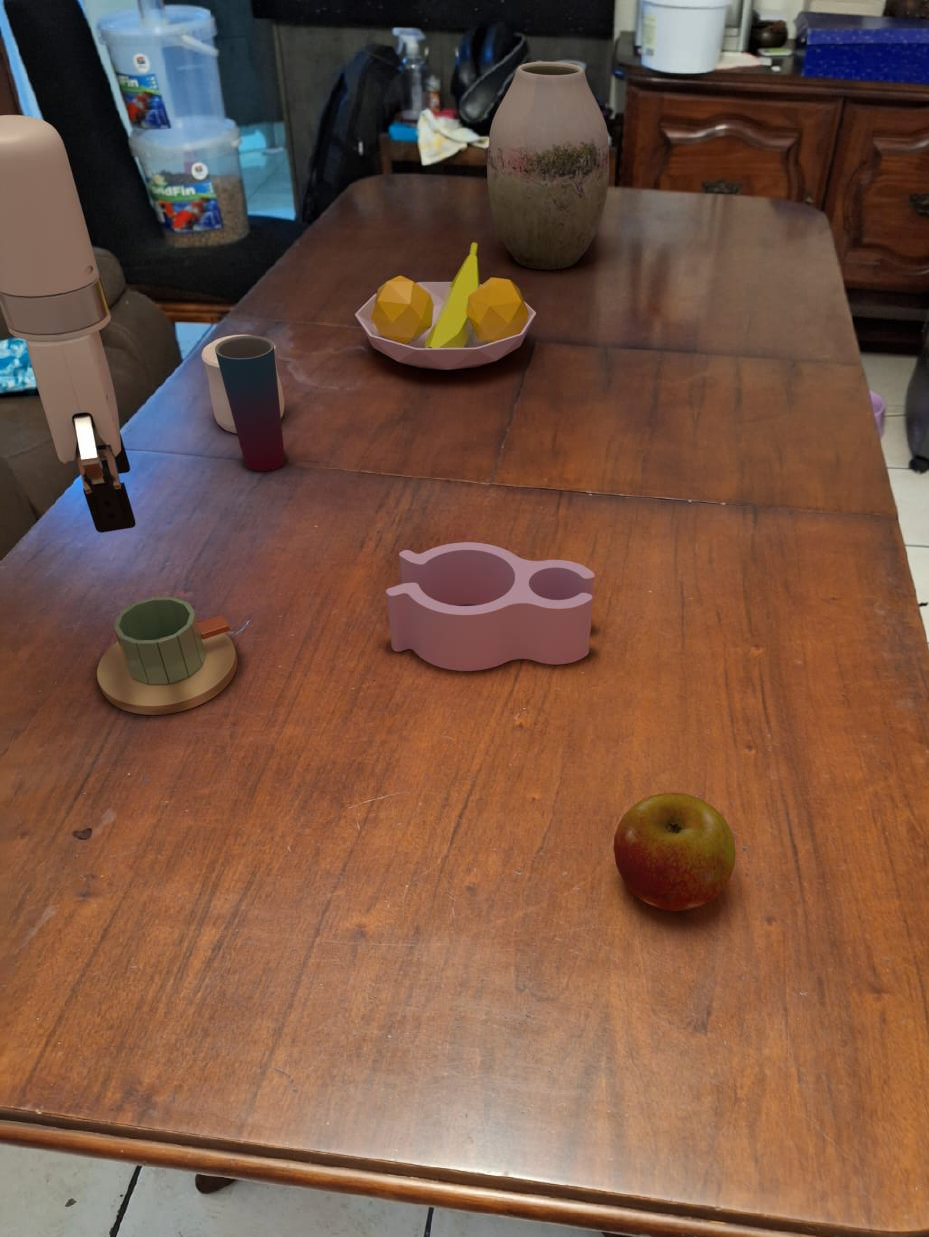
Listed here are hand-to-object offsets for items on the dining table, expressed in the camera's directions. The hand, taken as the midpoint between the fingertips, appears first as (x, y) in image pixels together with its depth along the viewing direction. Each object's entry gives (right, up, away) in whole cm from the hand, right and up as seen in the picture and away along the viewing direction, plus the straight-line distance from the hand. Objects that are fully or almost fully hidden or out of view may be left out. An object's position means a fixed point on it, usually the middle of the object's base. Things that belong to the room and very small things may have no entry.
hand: (114, 499), depth 90 cm
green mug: (+2, -13, +10) cm, 17 cm away
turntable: (+1, -15, +10) cm, 18 cm away
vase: (+39, +66, +98) cm, 124 cm away
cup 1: (-2, +22, +49) cm, 54 cm away
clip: (+33, -11, +16) cm, 38 cm away
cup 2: (+2, +14, +41) cm, 43 cm away
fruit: (+48, -33, -7) cm, 58 cm away
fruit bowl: (+24, +38, +68) cm, 81 cm away
